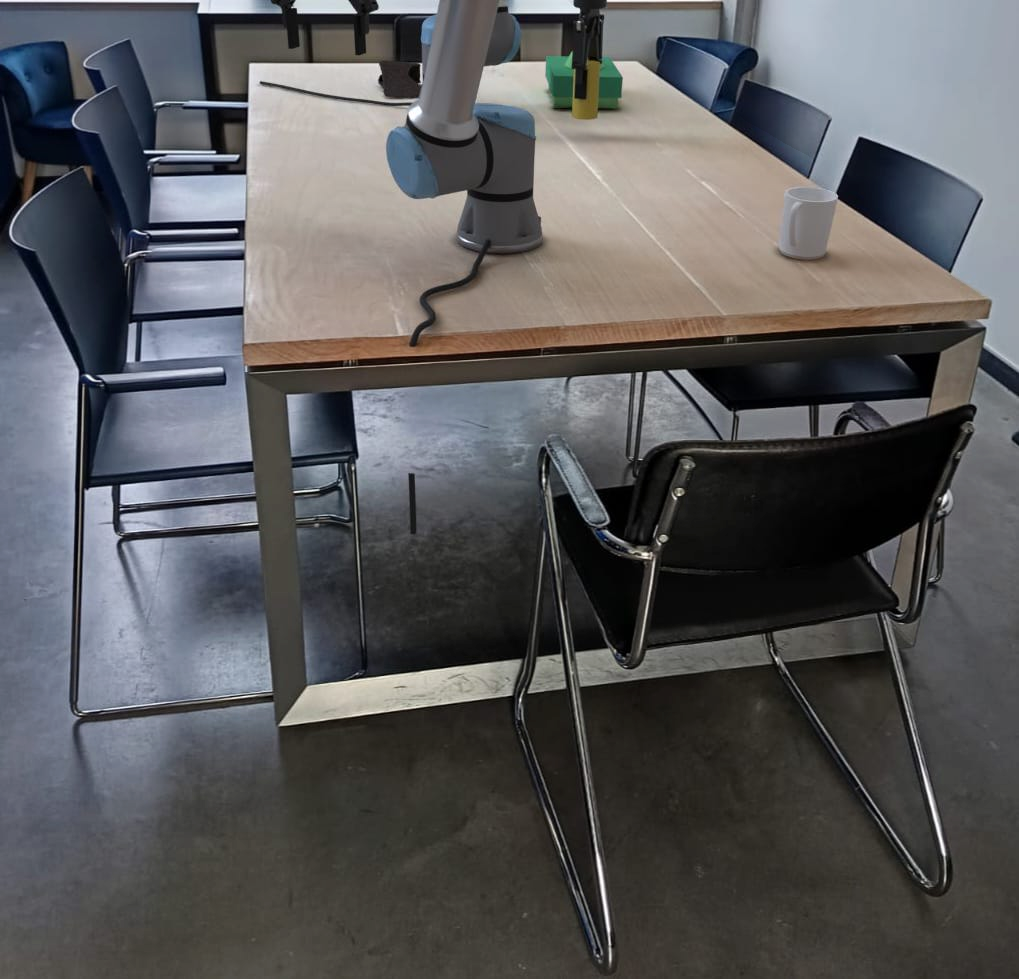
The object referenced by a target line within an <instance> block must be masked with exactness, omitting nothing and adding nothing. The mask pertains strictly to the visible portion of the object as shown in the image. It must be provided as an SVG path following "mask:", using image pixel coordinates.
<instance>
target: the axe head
mask: <svg viewBox="0 0 1019 979" xmlns="http://www.w3.org/2000/svg"><path fill="white" fill-rule="evenodd" d="M378 66H379V68H380V72H381V74H379V75H378V79H377V84H378V85H379V86H380V87H381V88H382V89H383V95H384V96H385V97H388V98H394V99H395V98H396V99H403V98H405V99H406V98H407V99H411V98H419V95H420V91H421V87H422V85H421V84H422V82H421V81H422V80H421V66H422V64H421V63H419V62H410V61H408V62H407V61H397V60H388V59H387V60H380V61H379V62H378Z"/></svg>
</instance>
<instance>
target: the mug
mask: <svg viewBox="0 0 1019 979" xmlns="http://www.w3.org/2000/svg"><path fill="white" fill-rule="evenodd" d="M838 198H839V195H838V194H837V193H836V192H835V191H832V190H828V189H825V188H820V187H813V186H795V187H790V188H787V189H786V190H785V191H784V197H783V206H782V216H781V225H780V235H779V245H778V250H779V252H780V254H781V255H782V256H783V255H784V256H785V257H787V258H792V259H796V260H805V261H806V260H807V261H812V260H819V259H822V258H823V257H825V255H826V252H827V248H828V244H829V239H830V234H831V231H832V230H831V229H832V225H833V221H834V216H835V213H836V208H837V203H838Z"/></svg>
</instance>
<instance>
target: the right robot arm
mask: <svg viewBox="0 0 1019 979" xmlns="http://www.w3.org/2000/svg"><path fill="white" fill-rule="evenodd" d="M296 1H297V0H270V2H271V4H272V5H276V6H278V7H279V8H280V9H281V19H282V27H283V28H284V29H286V36H287V48H288V50H293V49H297V48H300V47H301V42H300V32H299V31H300V30H299V19H298V18H299V16H298V8H297V7H295V5H294V4H295V3H296ZM347 1H348V2H349V4H350V5H351V6H352V8H353V9H354V11H355V12H356V14H354V15H353V18H352V19H353V33H354V34H353V37H354V56H362V55H364V54H367V42H366V41H367V40H366V35H369V33H370V14H371V13H374V12H376V11H378V10H379V8H380V6H379V4H378V1H377V0H347ZM499 1H500V0H439V1H438V6H437V12H436V15H437V16H436V21H435V26H434V31H433V36H432V41H431V46H430V51H429V56H428V61H427V66H426V72H425V77H424V82H423V81H422V83H423V87H422V92H421V97H420V99H419V98H418V99H419V100H418V99H417V100H414V101H413V103H412V104H411V105H410V106H408V109H407V114H406V117H405V118H406V119H405V124H404V125H403V126H400V125H398V126H396V127H395V128H394V129H391V130H390V131H389V133H388V134H387V138H386V142H385V150H386V151H385V152H386V160H387V164H388V168H389V171H390V173H391V176H392V178H393V180H394V182H395V184H396V185H397V187H398V188H399V189H400V191H401V192H402V193H403V194H405V195H406V196H407V197H408V198H410V199H414V200H424V199H436V198H437V197H440V196H445V195H451V194H456V193H460V192H467V193H466V198H465V202H464V205H463V209H462V211H461V214H460V218H459V220H458V224H457V228H456V241H457V243H458V244H459V245H461V246H462V247H464V248H466V249H468V250H470V251H475V252H479V253H478V256H477V257H476V259H475V261H474V263H473V265H472V267H471V271H470V273H469V274H468V275H467V276H465V277H464V278H462V279H460V280H458V281H454V282H453V281H452V282H450V283H445V284H441V285H438V286H434V287H431V288H429V289H427V290H425V291H423V292H422V294H421V295H420V297H419V303H420V305H421V307H422V308H423V309H424V310H425V312H426V313H427V314H428V319H426V320H424V321H422V322H420V323H419V324H418V325H417V326H416V327H415V329H414V330H413V332H412V335H411V338H410V341H409V347H410V348H415V347H416V346H417V343H418V340H419V338H420V335H421V334H422V332H423V331H424V330H426V329H427V328H429V327H431V326H432V325H434V323H435V322H436V319H437V318H436V316H437V315H436V312H435V310H434V309H433V307H431V305H430V304H429V302H427V299H428V298H429V297H430V296H433V295H435V294H437V293H441V292H446V291H450V290H455V289H458V288H461V287H463V286H466V285H468V284H469V283H470V282H472V281H474V279H475V278H476V276H477V275H478V272H479V268H480V266H481V264H482V262H483V260H484V258H485V256H486V254H497V255H499V254H500V255H506V254H507V255H508V254H517V253H524V252H527V251H530V250H533V249H536V248H538V247H539V246H540V245H541V244H542V243H543V229H542V217H541V216H539V214H538V213H539V212H538V210H537V206H536V204H535V199H534V184H535V181H534V180H535V158H536V156H535V154H536V140H537V136H536V121H535V117H534V115H533V114H532V113H531V112H529V111H528V110H526V109H523V108H521V107H516V106H511V105H506V104H500V103H499V104H498V103H486V102H476V101H477V97H478V93H479V88H480V85H481V81H482V76H483V72H484V68H485V67H484V64H485V59H486V55H487V51H488V47H489V43H490V38H491V34H492V30H493V26H494V22H495V17H496V13H497V9H498V5H499ZM407 475H408V476H407V477H408V498H409V499H408V500H409V529H410V534H411V535H414V536H415V535H417V533H418V532H417V500H416V499H417V497H416V475H415V473H414V472H413V473H412V472H411V473H410V472H408V473H407Z"/></svg>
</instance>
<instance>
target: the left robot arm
mask: <svg viewBox="0 0 1019 979" xmlns="http://www.w3.org/2000/svg"><path fill="white" fill-rule="evenodd" d="M572 5H573V7H575V8H576V9H579V15H578V17H577V18H578V19H577V20H573V23H572V24H573V25H572V26H573V38H572V40H573V41H572V51H573V54H572V66H571V67H572V69H576V71H575V95H574V98H575V99H584V100H585V99H586V96H587V75H588V69H586V65H587V59H588V60H591V61H597V62H600V64H602V60H601V59H602V57H603V48H604V47H603V45H604V23H605V14H602V13H601V9H605V8H606V7H607V5H608V0H573V3H572ZM436 16H437V14H433V15H430V16H429V17H427V18H425V19H424V20H423V22H422V25H421V36H420V42H421V66H422V67H421V68H422V69H421V70H422V73H421V74H422V75H421V76H422V82H421V86H422V87H423V82H424V77H425V72H426V66H427V61H428V56H429V51H430V46H431V41H432V36H433V31H434V26H435V21H436ZM521 31H522V30H521V26H520V23H519V21H517V18H516V17H515V16H514V15H513V14H511V13H509V5H508V4H507V3H506V2H505V1H504V0H500V1H499V5H498V9H497V13H496V17H495V22H494V26H493V30H492V34H491V38H490V43H489V47H488V51H487V55H486V59H485V64H484V68H485V67H491V66H492V67H495V66H499V65H503V64H507V63H509V62H511V61H512V60H513V59H514V58H515V56H516V54H517V53H518V52H519V50H520V46H521V40H522V39H521V38H522V32H521ZM259 85H262V86H263V85H264V86H267V87H268V86H269V87H273V88H280V89H285V90H287V91H293V92H298V93H301V94H306V95H311V96H316V97H321V98H327V99H333V100H340V101H346V102H354V103H363V104H372V105H379V106H387V107H409V106H410V105H411V104H412V103H413V102H414V101H413V102H412V101H409V102H407V101H406V102H388V101H379V100H373V99H364V98H355V97H348V96H347V97H346V96H340V95H334V94H328V93H321V92H317V91H312V90H307V89H303V88H302V89H301V88H297V87H293V86H289V85H284V84H279V83H273V82H268V81H262V80H260V81H259ZM422 87H421V91H420V95H419V97H418V99H417V100H419V99H420V97H421V92H422Z"/></svg>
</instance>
